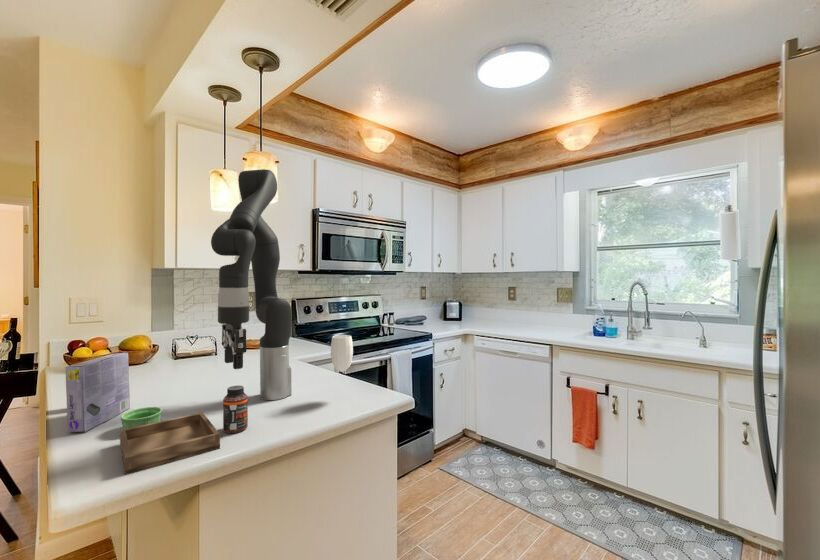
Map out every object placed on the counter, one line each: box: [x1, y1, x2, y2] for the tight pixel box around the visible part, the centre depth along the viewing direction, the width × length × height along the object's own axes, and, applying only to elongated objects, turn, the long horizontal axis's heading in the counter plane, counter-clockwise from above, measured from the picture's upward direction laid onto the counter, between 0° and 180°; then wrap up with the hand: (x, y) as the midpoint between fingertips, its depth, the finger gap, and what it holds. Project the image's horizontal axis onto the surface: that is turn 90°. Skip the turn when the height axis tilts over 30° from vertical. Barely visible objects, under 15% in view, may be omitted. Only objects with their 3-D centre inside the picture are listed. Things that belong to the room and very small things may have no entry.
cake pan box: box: [64, 352, 131, 433], centre depth 107 cm, size 19×5×18 cm, turn 4°
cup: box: [330, 334, 354, 373], centre depth 124 cm, size 7×7×21 cm
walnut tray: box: [119, 412, 221, 476], centre depth 90 cm, size 18×18×4 cm
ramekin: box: [120, 406, 163, 430], centre depth 101 cm, size 9×9×4 cm
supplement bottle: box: [222, 385, 249, 434], centre depth 100 cm, size 6×6×11 cm
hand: (233, 365), depth 100 cm, fingers open, 8 cm apart
